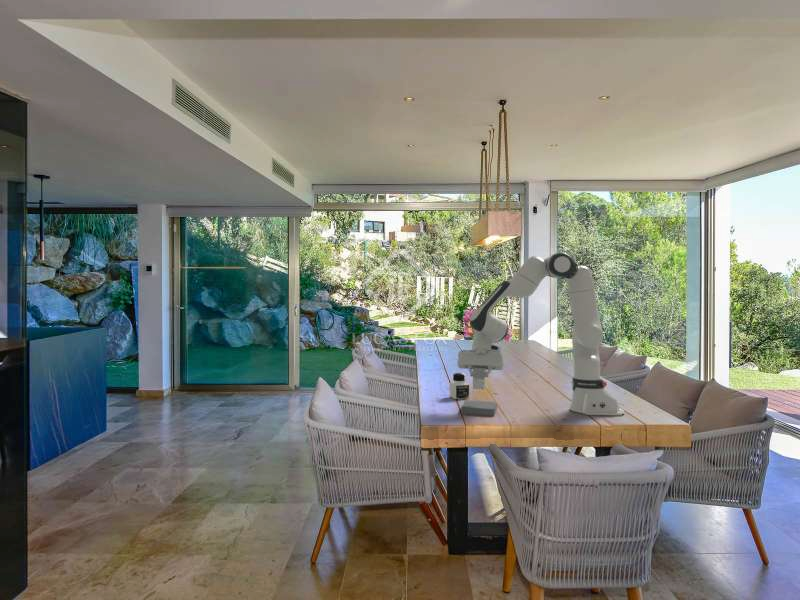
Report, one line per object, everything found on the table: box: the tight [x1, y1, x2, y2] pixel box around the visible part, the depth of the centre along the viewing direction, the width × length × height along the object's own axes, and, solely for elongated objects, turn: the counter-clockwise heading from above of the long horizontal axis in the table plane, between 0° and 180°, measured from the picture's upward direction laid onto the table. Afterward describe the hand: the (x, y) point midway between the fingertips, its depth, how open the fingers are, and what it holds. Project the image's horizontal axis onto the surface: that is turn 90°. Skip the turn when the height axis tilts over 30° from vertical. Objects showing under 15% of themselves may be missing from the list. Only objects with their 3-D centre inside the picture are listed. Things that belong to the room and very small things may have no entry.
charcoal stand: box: [460, 399, 498, 417], centre depth 234 cm, size 14×14×3 cm
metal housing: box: [472, 366, 487, 390], centre depth 234 cm, size 5×5×9 cm
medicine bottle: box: [449, 372, 470, 400], centre depth 262 cm, size 7×7×12 cm
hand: (479, 376), depth 233 cm, fingers closed on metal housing, 5 cm apart
